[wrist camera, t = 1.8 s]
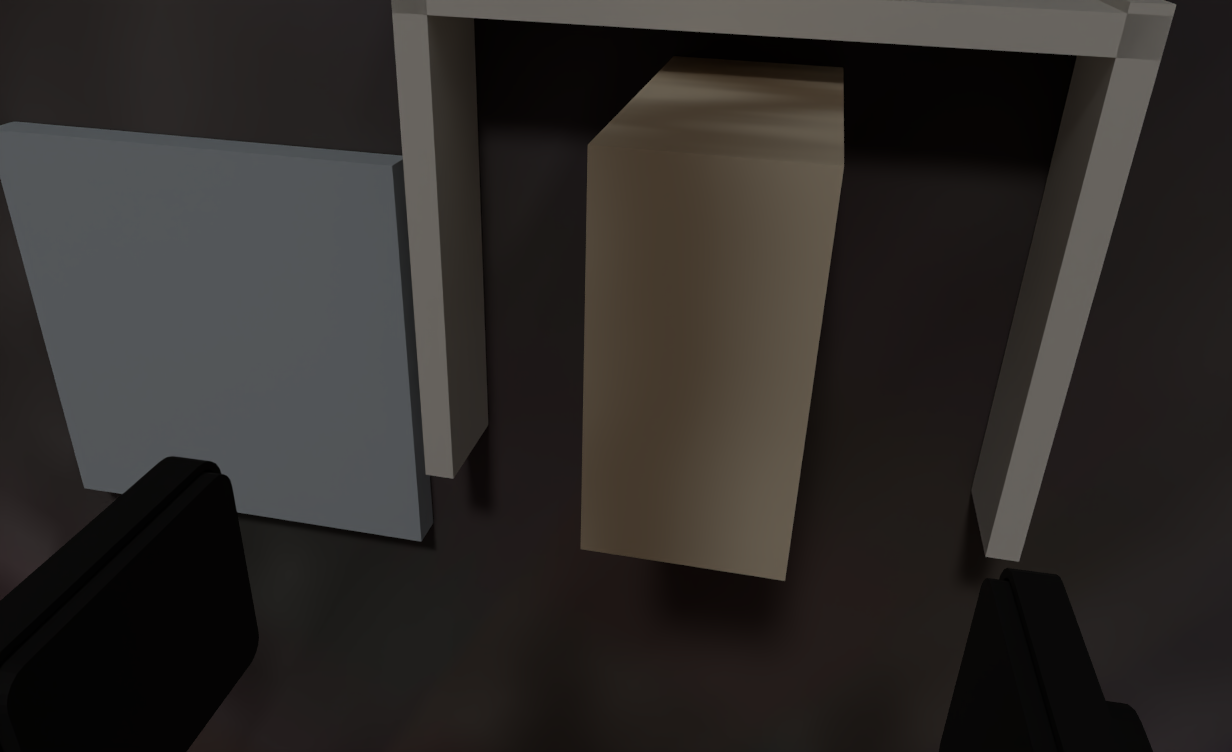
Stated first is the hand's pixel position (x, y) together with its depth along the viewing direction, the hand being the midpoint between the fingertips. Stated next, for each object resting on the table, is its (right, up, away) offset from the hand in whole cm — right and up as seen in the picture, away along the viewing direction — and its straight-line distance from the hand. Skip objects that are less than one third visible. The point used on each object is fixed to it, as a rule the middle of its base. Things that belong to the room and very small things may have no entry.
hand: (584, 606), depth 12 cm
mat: (-11, +4, +18) cm, 21 cm away
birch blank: (+4, +7, +13) cm, 15 cm away
